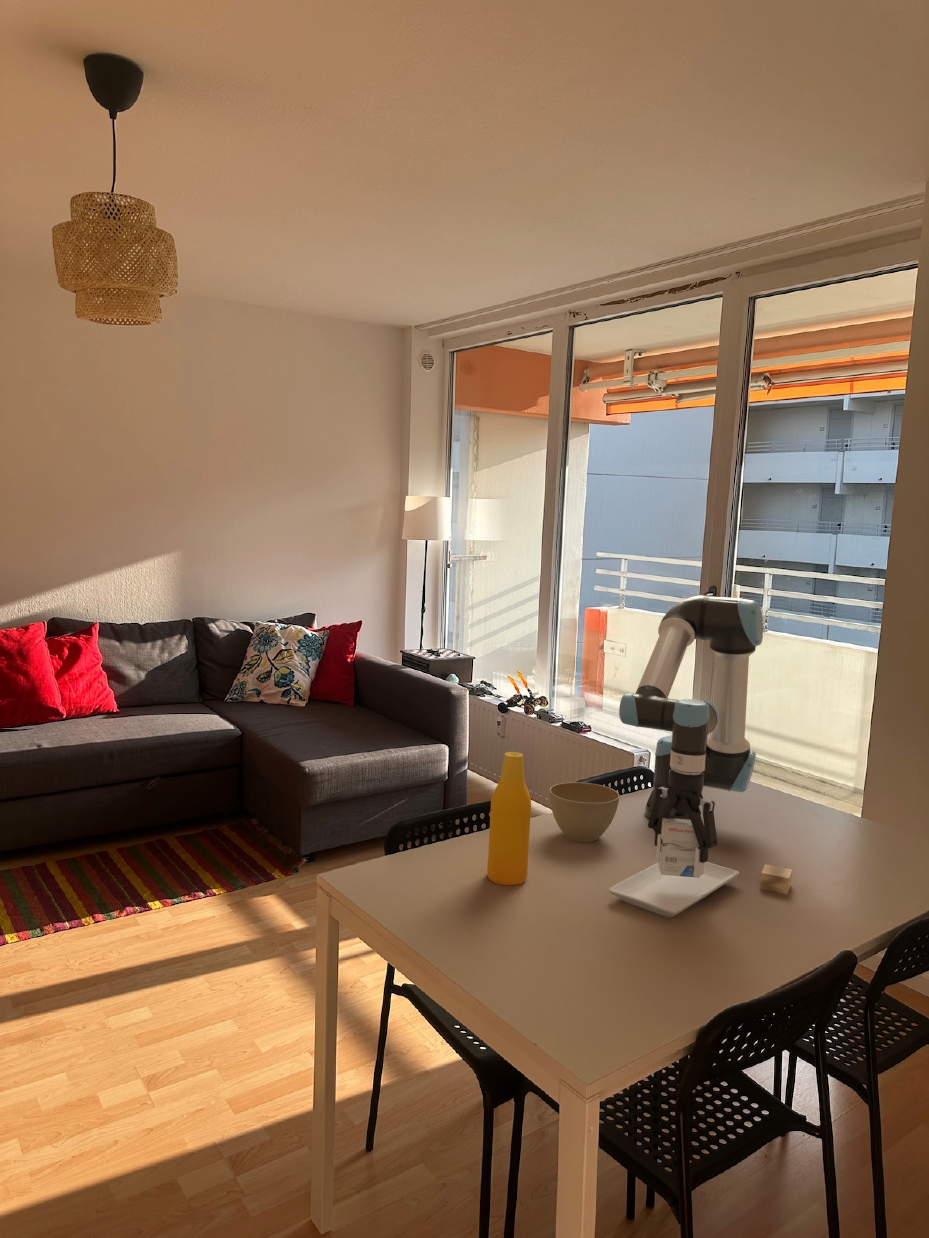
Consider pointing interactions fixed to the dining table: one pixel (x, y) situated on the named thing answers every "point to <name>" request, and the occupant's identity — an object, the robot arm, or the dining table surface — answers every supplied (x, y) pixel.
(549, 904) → the dining table surface
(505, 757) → the beer bottle
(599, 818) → the beige round bowl
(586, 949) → the dining table surface
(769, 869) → the oak block
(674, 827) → the ink box
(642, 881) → the tray
